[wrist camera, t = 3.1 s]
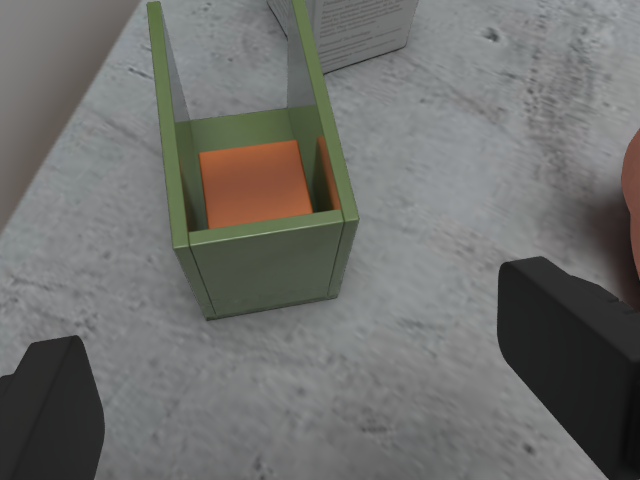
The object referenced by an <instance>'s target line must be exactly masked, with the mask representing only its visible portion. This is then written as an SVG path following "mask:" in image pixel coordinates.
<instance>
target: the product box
mask: <svg viewBox="0 0 640 480" xmlns="http://www.w3.org/2000/svg"><path fill="white" fill-rule="evenodd" d="M304 1H305V5H306V9H307V13H308V16H309V20H310V24H311V28H312V32H313V36H314V40H315V44H316V48H317V52H318V56H319V60H320V64H321V68H322V72H323V74H324V73H327V72H330V71H333V70H336V69H338V68H341V67H344V66H347V65H350V64H353V63H356V62H360V61H362V60H365V59H369V58H372V57H375V56H378V55H381V54H384V53H388V52H391V51H394V50H397V49H400V48H402V47H404V46H405V45H406V41H407V38H408V34H409V31H410V27H411V24H412V20H413V17H414V14H415V10H416V7H417V3H418V0H304ZM267 2H268V4H269V6H270V8H271V9H272V11H273V12H274V14H275V15H276V17H277V19H278V21H279V23H280V24H281V26H282V28H283V30H284V32H285V34H286V35H287V37H288V3H289V0H267Z"/></svg>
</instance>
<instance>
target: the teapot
mask: <svg viewBox="0 0 640 480" xmlns="http://www.w3.org/2000/svg"><path fill="white" fill-rule="evenodd" d="M621 181H622V190H623V194H624V197H625V201H626V204H627V206H628V209H629V211H630V213H631V222H630V236H631V243H632V251H633V257H634V261H635V265H636V268H637V272H638V276H639V279H640V128H639V130H638V131H637V133H636V134H635V136H634V137H633V139H632V140H631V142H630V143H629V145H628V148H627V151H626V153H625V158H624V162H623V168H622V176H621Z"/></svg>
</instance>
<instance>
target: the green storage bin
mask: <svg viewBox="0 0 640 480" xmlns="http://www.w3.org/2000/svg"><path fill="white" fill-rule="evenodd" d="M147 13H148V22H149V31H150V41H151V50H152V59H153V69H154V78H155V87H156V97H157V106H158V115H159V125H160V134H161V144H162V153H163V162H164V172H165V181H166V190H167V200H168V209H169V218H170V228H171V237H172V246H173V250H174V252H175V254H176V256H177V259H178V261H179V263H180V265H181V267H182V269H183V272H184V274H185V276H186V278H187V280H188V283H189V285H190V287H191V289H192V291H193V293H194V296H195V298H196V300H197V302H198V304H199V307H200V309H201V311H202V313H203V315H204V318H205V320H213V319H219V318H224V317H230V316H236V315H242V314H247V313H253V312H259V311H264V310H270V309H276V308H282V307H287V306H293V305H299V304H304V303H310V302H316V301H322V300H327V299H333V298H337V296H338V292H339V289H340V285H341V282H342V278H343V275H344V272H345V268H346V265H347V261H348V258H349V254H350V251H351V247H352V244H353V240H354V237H355V233H356V230H357V226H358V223H359V215H358V211H357V207H356V203H355V199H354V195H353V191H352V187H351V183H350V179H349V175H348V171H347V167H346V163H345V159H344V155H343V151H342V147H341V143H340V139H339V135H338V131H337V127H336V123H335V120H334V116H333V112H332V108H331V104H330V100H329V96H328V92H327V88H326V84H325V80H324V76H323V72H322V68H321V64H320V60H319V56H318V52H317V48H316V44H315V40H314V36H313V32H312V28H311V24H310V20H309V16H308V13H307V9H306V5H305V1H304V0H289V3H288V83H287V108H285V109H277V110H269V111H261V112H253V113H245V114H237V115H230V116H222V117H214V118H206V119H198V120H190V118H189V114H188V110H187V106H186V102H185V99H184V95H183V91H182V87H181V83H180V79H179V75H178V71H177V67H176V63H175V59H174V55H173V51H172V47H171V43H170V39H169V35H168V31H167V27H166V23H165V19H164V15H163V11H162V7H161V3H160V2H159V1H157V2H148V3H147ZM290 140H297V141H298V145H299V149H300V154H301V158H302V163H303V168H304V172H305V177H306V181H307V186H308V191H309V195H310V200H311V204H312V209H313V213H311V214H304V215H298V216H291V217H285V218H278V219H272V220H265V221H259V222H252V223H246V224H239V225H233V226H226V227H220V228H213V229H208V224H207V217H206V209H205V202H204V194H203V187H202V180H201V172H200V165H199V158H198V154H199V153H201V152H208V151H215V150H223V149H230V148H238V147H245V146H253V145H260V144H267V143H275V142H282V141H290Z"/></svg>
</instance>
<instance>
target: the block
mask: <svg viewBox="0 0 640 480" xmlns="http://www.w3.org/2000/svg"><path fill="white" fill-rule="evenodd" d="M198 158H199V165H200V172H201V180H202V187H203V194H204V202H205V209H206V217H207V224H208V229H213V228H220V227H226V226H233V225H239V224H246V223H252V222H259V221H265V220H272V219H278V218H285V217H291V216H298V215H304V214H311V213H313V209H312V204H311V200H310V195H309V191H308V186H307V181H306V177H305V172H304V168H303V163H302V158H301V154H300V149H299V145H298V141H297V140H290V141H282V142H275V143H267V144H260V145H253V146H245V147H238V148H230V149H223V150H215V151H208V152H201V153H199V154H198Z"/></svg>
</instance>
